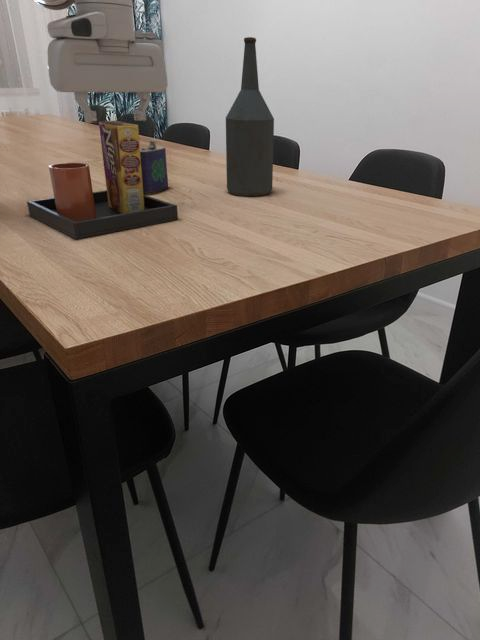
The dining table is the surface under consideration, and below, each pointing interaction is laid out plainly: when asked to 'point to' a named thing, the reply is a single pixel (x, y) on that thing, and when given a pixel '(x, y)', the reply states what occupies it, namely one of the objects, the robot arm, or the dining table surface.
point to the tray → (103, 216)
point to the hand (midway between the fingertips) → (116, 121)
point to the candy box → (122, 165)
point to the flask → (153, 169)
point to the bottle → (249, 134)
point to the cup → (73, 190)
